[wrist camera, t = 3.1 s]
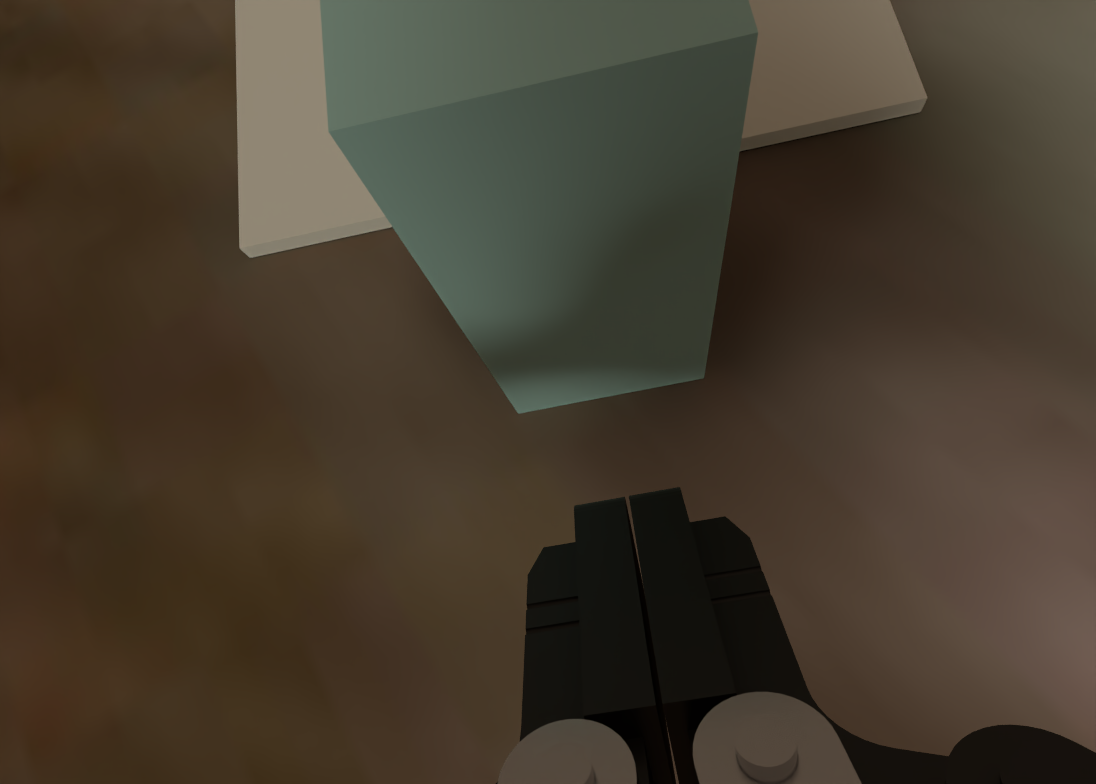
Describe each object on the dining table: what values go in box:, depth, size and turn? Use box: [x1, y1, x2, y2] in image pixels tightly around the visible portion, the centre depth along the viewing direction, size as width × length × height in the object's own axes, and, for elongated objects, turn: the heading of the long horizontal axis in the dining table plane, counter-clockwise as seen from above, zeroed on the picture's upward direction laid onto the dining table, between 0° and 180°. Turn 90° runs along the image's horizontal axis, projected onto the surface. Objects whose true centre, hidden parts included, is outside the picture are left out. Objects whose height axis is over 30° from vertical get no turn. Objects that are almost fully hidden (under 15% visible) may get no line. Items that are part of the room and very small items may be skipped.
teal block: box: [320, 0, 758, 414], centre depth 15 cm, size 5×5×12 cm
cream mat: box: [235, 0, 928, 258], centre depth 23 cm, size 20×12×1 cm, turn 99°
